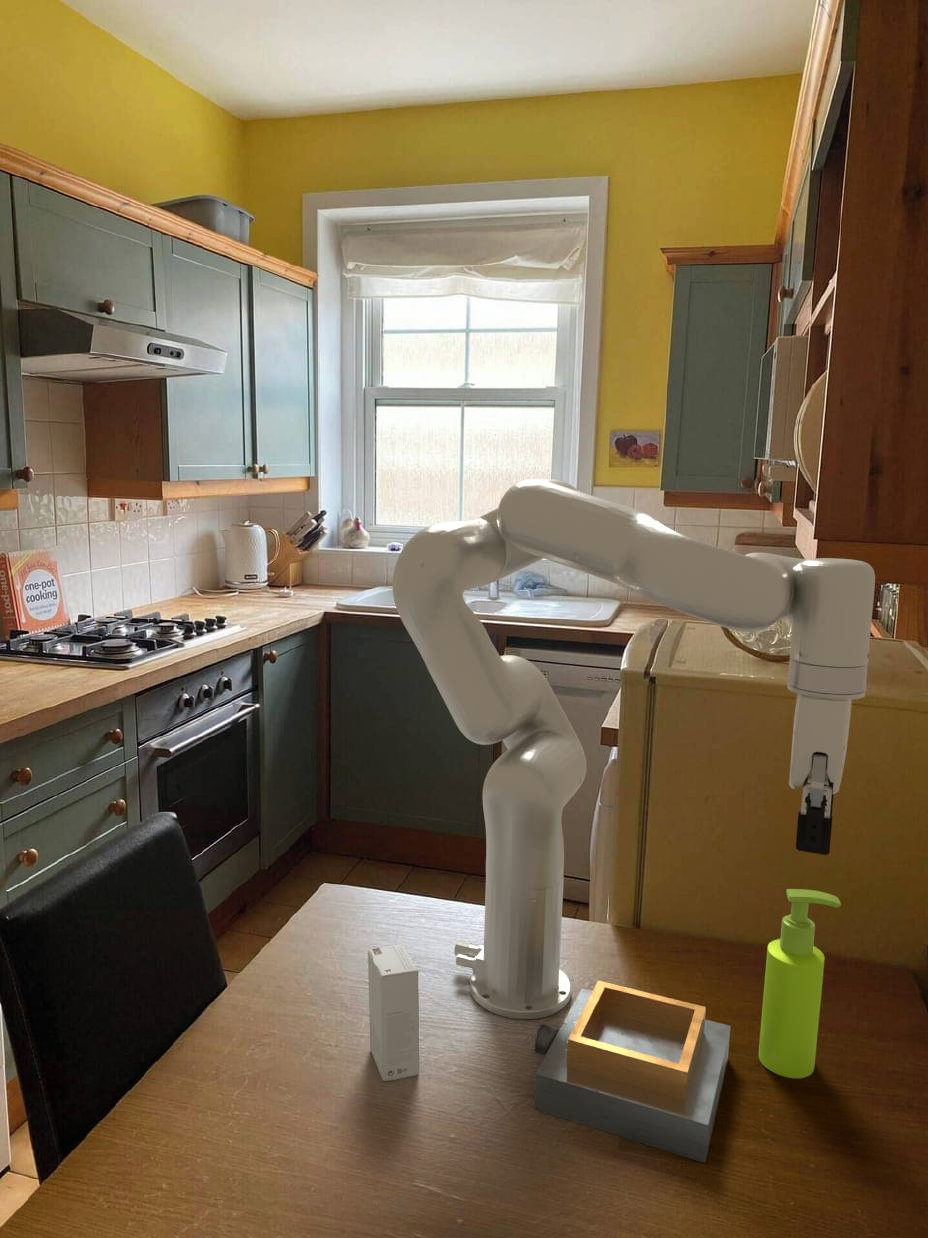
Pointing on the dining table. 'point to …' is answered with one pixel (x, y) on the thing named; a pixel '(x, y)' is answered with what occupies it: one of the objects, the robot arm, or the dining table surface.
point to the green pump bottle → (793, 990)
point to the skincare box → (393, 1012)
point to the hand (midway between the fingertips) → (814, 835)
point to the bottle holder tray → (635, 1068)
